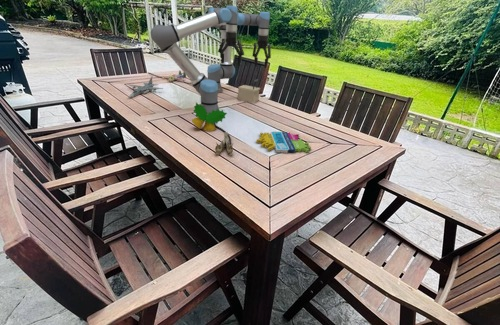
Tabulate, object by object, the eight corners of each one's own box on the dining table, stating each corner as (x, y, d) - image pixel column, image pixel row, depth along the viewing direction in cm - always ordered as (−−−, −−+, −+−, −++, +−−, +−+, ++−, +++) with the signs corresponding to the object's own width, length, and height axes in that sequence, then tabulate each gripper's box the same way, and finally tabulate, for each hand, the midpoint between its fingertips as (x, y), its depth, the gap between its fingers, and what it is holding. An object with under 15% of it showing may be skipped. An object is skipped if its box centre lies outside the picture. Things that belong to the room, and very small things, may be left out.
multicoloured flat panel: (313, 150, 142) (258, 149, 139) (312, 153, 143) (258, 152, 140) (301, 132, 164) (254, 130, 161) (301, 134, 165) (254, 133, 162)
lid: (260, 89, 222) (261, 79, 218) (255, 91, 214) (256, 81, 210) (243, 86, 228) (244, 76, 223) (238, 88, 220) (238, 78, 216)
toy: (194, 71, 284) (182, 76, 258) (194, 78, 288) (182, 83, 262) (171, 69, 289) (156, 73, 263) (171, 75, 293) (157, 80, 267)
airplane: (122, 88, 234) (120, 76, 229) (158, 85, 247) (157, 74, 242) (127, 100, 206) (124, 88, 201) (167, 97, 219) (166, 85, 214)
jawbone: (234, 135, 144) (233, 125, 135) (233, 160, 138) (232, 151, 129) (217, 135, 144) (216, 125, 135) (216, 160, 138) (214, 150, 129)
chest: (258, 100, 227) (259, 89, 222) (253, 103, 219) (254, 91, 214) (243, 97, 232) (243, 86, 228) (237, 100, 225) (238, 88, 220)
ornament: (218, 133, 171) (224, 110, 169) (221, 134, 163) (227, 111, 161) (186, 125, 162) (192, 101, 160) (189, 126, 155) (195, 101, 153)
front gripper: (250, 33, 178) (248, 65, 188) (218, 30, 187) (218, 61, 197) (245, 33, 172) (243, 67, 182) (213, 30, 181) (213, 62, 191)
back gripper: (277, 36, 197) (274, 68, 208) (253, 34, 204) (251, 64, 215) (273, 36, 191) (270, 69, 202) (248, 34, 198) (247, 65, 209)
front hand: (230, 64), depth 190 cm, fingers open, 13 cm apart
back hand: (260, 66), depth 208 cm, fingers open, 7 cm apart
